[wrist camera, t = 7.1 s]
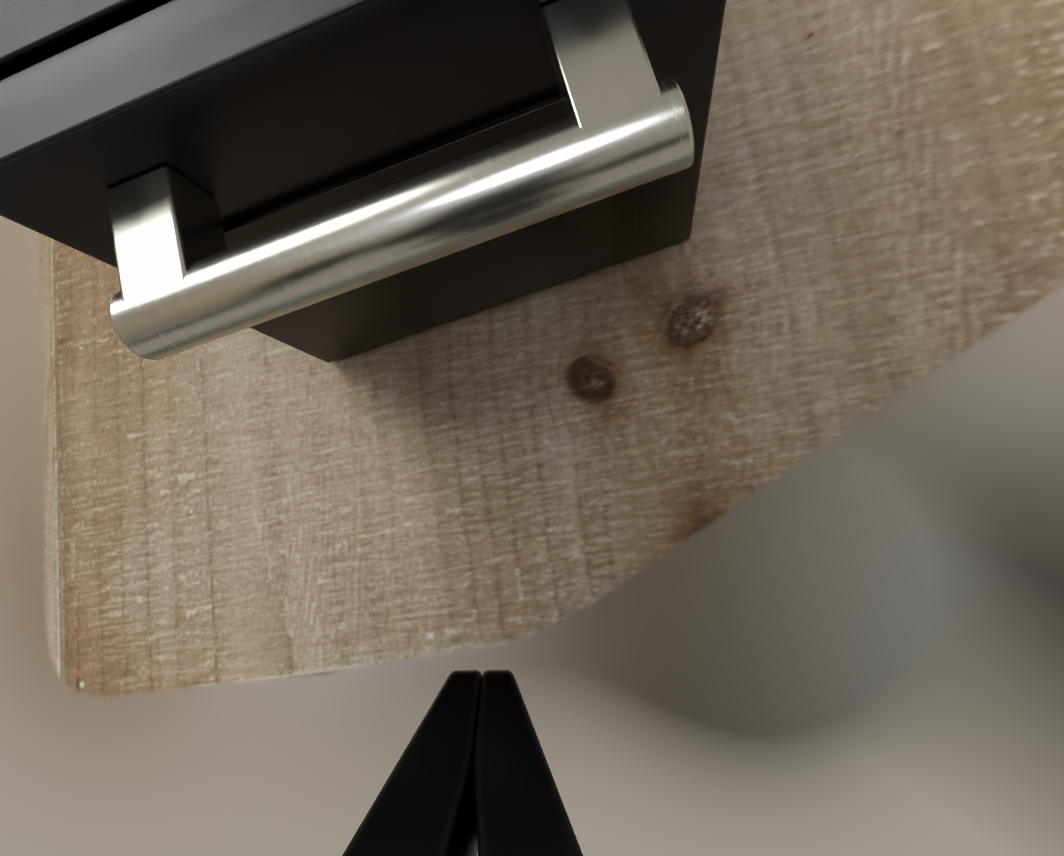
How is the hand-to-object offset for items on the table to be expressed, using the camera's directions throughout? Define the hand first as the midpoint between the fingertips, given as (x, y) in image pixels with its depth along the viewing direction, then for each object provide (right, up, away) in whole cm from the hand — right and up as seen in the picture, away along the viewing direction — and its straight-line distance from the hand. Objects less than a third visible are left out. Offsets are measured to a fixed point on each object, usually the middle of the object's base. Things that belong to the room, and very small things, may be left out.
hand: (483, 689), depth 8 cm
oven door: (0, +7, +13) cm, 15 cm away
